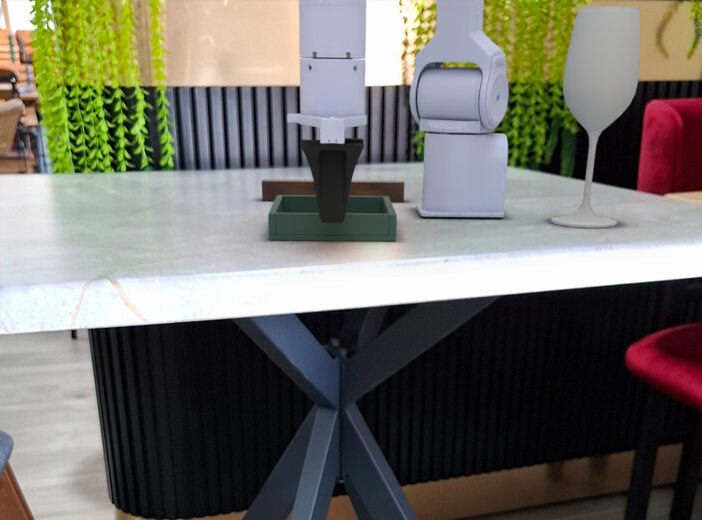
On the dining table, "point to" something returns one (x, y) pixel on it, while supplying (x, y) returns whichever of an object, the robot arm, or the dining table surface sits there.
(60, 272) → the dining table surface
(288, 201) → the tray
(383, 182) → the bar
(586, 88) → the wineglass
